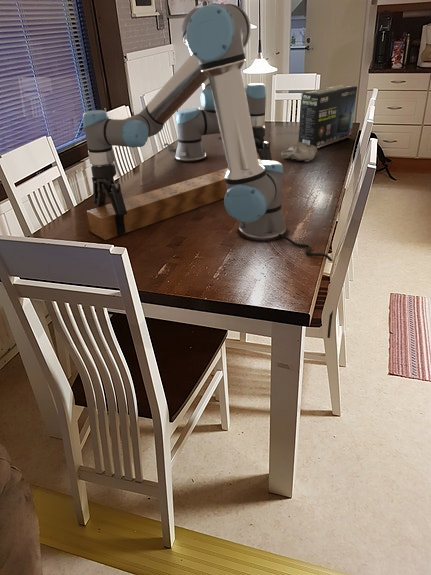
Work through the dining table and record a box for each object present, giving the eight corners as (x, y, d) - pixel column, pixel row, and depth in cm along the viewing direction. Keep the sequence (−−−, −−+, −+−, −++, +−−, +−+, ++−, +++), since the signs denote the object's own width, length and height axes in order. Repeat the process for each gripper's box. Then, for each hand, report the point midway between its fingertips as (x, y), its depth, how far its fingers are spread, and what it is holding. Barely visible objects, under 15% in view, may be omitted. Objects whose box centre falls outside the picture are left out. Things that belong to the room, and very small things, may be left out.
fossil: (311, 156, 210) (288, 135, 213) (297, 175, 216) (275, 154, 219) (325, 153, 223) (304, 133, 226) (312, 171, 230) (290, 152, 233)
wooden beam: (105, 240, 149) (101, 218, 145) (90, 231, 155) (86, 210, 151) (273, 180, 194) (273, 163, 190) (256, 176, 200) (256, 159, 196)
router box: (314, 151, 231) (318, 94, 217) (296, 148, 237) (299, 92, 224) (352, 138, 251) (358, 85, 238) (335, 135, 258) (340, 83, 245)
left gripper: (283, 128, 177) (281, 184, 188) (242, 120, 191) (242, 173, 203) (270, 131, 173) (268, 188, 184) (229, 123, 187) (230, 177, 199)
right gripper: (132, 167, 138) (141, 235, 150) (95, 154, 153) (106, 217, 164) (110, 173, 134) (121, 242, 146) (74, 159, 149) (87, 223, 160)
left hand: (255, 180), depth 194 cm, fingers closed on wooden beam, 10 cm apart
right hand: (113, 229), depth 155 cm, fingers closed on wooden beam, 10 cm apart
